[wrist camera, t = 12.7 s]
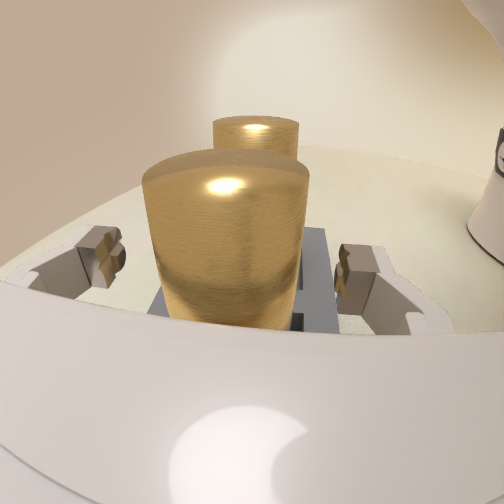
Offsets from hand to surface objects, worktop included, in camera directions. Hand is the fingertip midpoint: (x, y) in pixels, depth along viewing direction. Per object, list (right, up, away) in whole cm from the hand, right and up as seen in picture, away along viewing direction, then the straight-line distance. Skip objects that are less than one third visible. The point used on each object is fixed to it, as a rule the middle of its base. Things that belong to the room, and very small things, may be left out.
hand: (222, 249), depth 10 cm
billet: (0, -7, +4) cm, 8 cm away
